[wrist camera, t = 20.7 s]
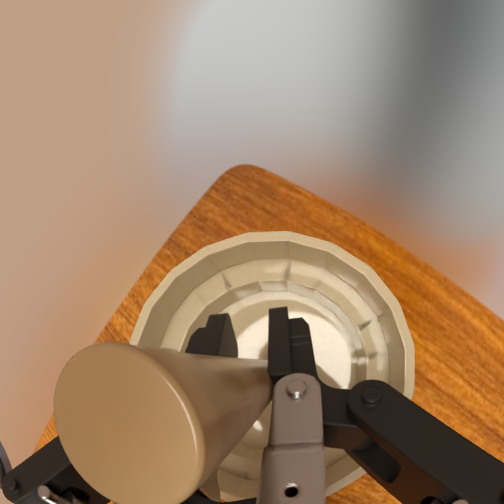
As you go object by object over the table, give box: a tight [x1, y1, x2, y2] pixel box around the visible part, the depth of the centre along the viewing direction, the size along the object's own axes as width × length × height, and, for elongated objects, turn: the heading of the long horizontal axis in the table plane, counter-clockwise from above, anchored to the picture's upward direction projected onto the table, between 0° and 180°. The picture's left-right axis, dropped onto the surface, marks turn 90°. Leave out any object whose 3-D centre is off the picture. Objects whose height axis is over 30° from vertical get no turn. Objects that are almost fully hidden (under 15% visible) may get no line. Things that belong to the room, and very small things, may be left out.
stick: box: [54, 342, 274, 504], centre depth 10 cm, size 2×2×17 cm
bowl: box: [129, 231, 415, 502], centre depth 15 cm, size 15×15×6 cm
